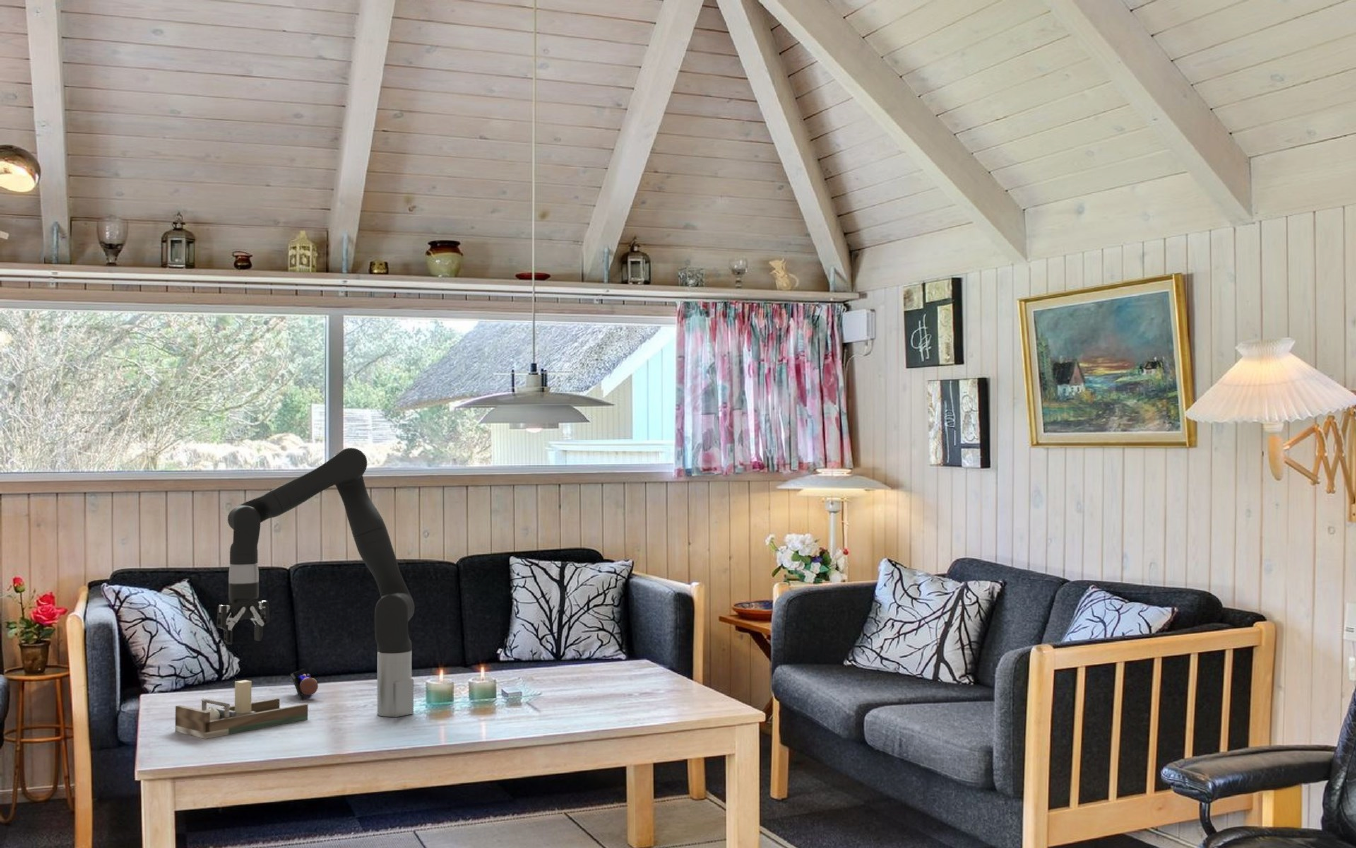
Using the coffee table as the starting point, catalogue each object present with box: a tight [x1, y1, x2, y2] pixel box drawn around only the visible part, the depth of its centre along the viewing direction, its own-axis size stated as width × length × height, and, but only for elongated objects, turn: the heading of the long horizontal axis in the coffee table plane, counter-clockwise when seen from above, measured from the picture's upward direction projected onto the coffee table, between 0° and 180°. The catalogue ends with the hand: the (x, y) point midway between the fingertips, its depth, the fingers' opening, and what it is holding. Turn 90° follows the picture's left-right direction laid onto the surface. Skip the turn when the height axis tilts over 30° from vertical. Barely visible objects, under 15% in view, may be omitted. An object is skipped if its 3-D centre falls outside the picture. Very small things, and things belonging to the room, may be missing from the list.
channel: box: [174, 697, 309, 740], centre depth 327 cm, size 14×30×8 cm, turn 141°
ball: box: [205, 707, 220, 721], centre depth 320 cm, size 4×4×4 cm
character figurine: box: [290, 668, 319, 701], centre depth 368 cm, size 8×7×15 cm
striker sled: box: [208, 679, 256, 719], centre depth 326 cm, size 11×9×10 cm
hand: (243, 642), depth 328 cm, fingers open, 8 cm apart
